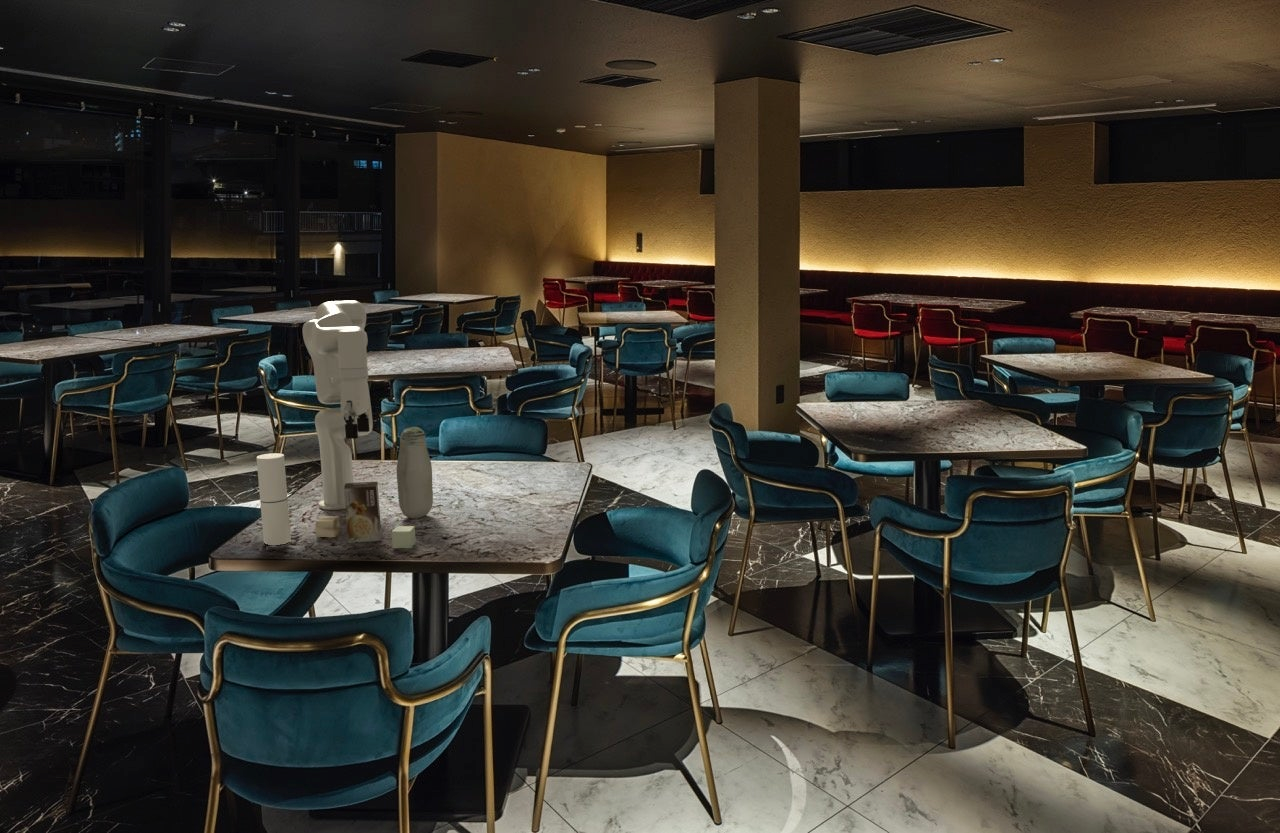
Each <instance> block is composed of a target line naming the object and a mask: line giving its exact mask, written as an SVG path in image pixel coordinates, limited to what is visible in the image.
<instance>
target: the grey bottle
mask: <svg viewBox="0 0 1280 833" xmlns="http://www.w3.org/2000/svg"><path fill="white" fill-rule="evenodd" d="M399 442H400V443H399V451H398V455H397V456H398V457H397V461H396V482H397V496H398V505H399V508H400V511H401V513H402V514H403V515H404V516H405V517H406V518H409V519H413V520H414V519H415V520H417V519H421V518H423V517H426V516H427V515H428V514H429V513H430V511H431V510H432V508H433V502H434V495H433V494H434V493H433V491H434V490H433V467H432V466H433V465H432V462H431V458H430V453H429V451H428V446H427V440H426V434H425V431H424V430H422V428H420V427H417V426H413V427H412V426H411V427H407V428H405V429H404V430H403V431H402V432H401V434H400V437H399Z"/></svg>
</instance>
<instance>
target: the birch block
mask: <svg viewBox="0 0 1280 833" xmlns="http://www.w3.org/2000/svg"><path fill="white" fill-rule="evenodd" d="M340 527H341V526H340V516H339V515H336V516H335V515H331V516H330V515H327V516H326V515H324V516H323V515H321V516H320V517H319V518H318V519H317V520H315V535H316V538H317V537H334V538H336V537H337V536H338V535H339V534H340V533H341V530H340ZM338 533H339V534H338ZM337 534H338V535H337ZM336 535H337V536H336Z"/></svg>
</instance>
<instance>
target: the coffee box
mask: <svg viewBox="0 0 1280 833" xmlns="http://www.w3.org/2000/svg"><path fill="white" fill-rule="evenodd" d="M378 486H379V484H378V481H365V482H364V481H361V482H353V483H346V484H345V486H344V499H345V509H344V510H345V521H346V533H347V543H348V544H356V543H355V542H358V543H371V542H381V541H382V537H383V533H382V524H381V523H382V522H381V513H380V512H381V511H380V498H379V497H380V496H379V487H378Z"/></svg>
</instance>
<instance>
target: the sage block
mask: <svg viewBox="0 0 1280 833" xmlns="http://www.w3.org/2000/svg"><path fill="white" fill-rule="evenodd" d="M415 528H416V527H415V525H402V526H401V525H400V526H399V525H397V526H395V528H393V530H392V531H391V541H392V544H391V545H392V549H393V548H411V547H412V546H413V545H414V546H415V545H416V541H417V540H416V529H415ZM414 546H413V547H414ZM413 547H412V548H413ZM412 548H411V549H412Z"/></svg>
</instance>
